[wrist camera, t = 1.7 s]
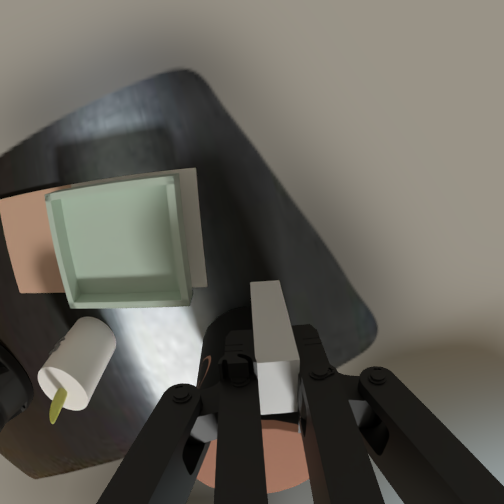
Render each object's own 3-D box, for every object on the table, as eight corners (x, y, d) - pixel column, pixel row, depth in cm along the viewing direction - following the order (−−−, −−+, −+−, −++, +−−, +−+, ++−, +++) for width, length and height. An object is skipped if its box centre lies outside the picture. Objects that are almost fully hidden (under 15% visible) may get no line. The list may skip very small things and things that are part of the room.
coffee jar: (197, 305, 35) (171, 430, 18) (292, 297, 35) (331, 418, 18) (211, 376, 39) (201, 496, 22) (293, 369, 39) (319, 487, 22)
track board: (22, 291, 34) (20, 293, 34) (0, 199, 30) (-2, 200, 29) (207, 284, 35) (207, 287, 34) (196, 167, 30) (195, 167, 30)
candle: (90, 306, 35) (32, 385, 21) (125, 344, 37) (85, 431, 23) (64, 329, 36) (10, 402, 22) (97, 363, 38) (56, 443, 24)
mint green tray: (85, 291, 33) (70, 308, 29) (64, 187, 29) (44, 194, 25) (195, 286, 34) (189, 306, 30) (182, 171, 30) (173, 175, 26)
